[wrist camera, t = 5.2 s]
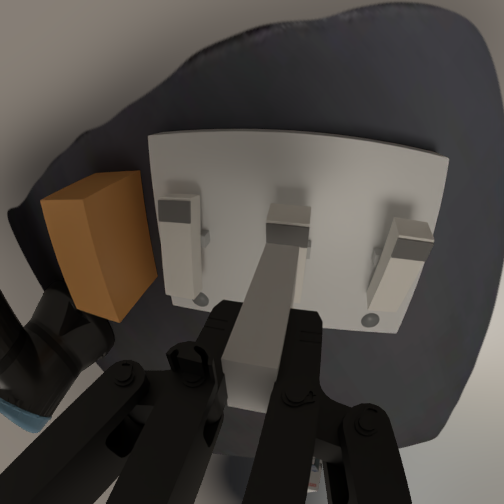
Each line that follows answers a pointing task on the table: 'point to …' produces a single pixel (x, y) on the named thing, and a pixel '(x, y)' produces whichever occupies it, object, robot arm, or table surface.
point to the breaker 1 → (181, 244)
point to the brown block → (102, 242)
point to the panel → (302, 194)
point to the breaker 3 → (399, 264)
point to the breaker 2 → (290, 234)
